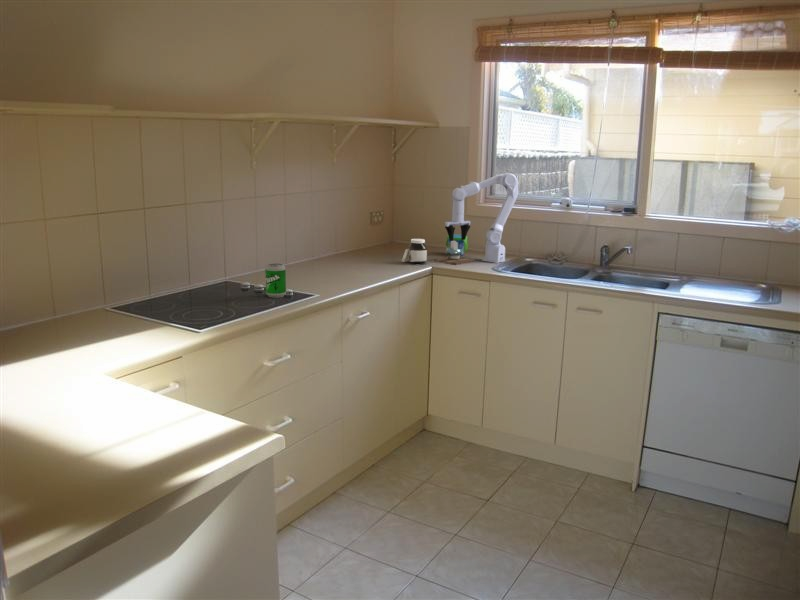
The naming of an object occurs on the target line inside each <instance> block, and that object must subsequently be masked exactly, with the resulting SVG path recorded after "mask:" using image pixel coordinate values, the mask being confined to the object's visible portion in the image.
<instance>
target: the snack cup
mask: <svg viewBox="0 0 800 600" xmlns="http://www.w3.org/2000/svg"><path fill="white" fill-rule="evenodd" d="M468 239H469V238H468V236H467V235H466V238H465V240H462V239H461V234H454V237H453V241H456V242H457V243H458V248H461V249H462V254H461V255H462V256H464V254H465V252H467V251H468V250H469V244H468ZM445 246H446V248H451V241H450V240H449V236H448V235H447V236H446V242H445ZM461 255H460V257H461Z"/></svg>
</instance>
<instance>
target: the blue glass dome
mask: <svg viewBox="0 0 800 600" xmlns="http://www.w3.org/2000/svg"><path fill="white" fill-rule="evenodd" d="M445 254H446V255H447V256H448V255H461V254H462V249H461V248H458V243H457V242H456V241H451V248H449V247H446V248H445Z"/></svg>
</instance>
